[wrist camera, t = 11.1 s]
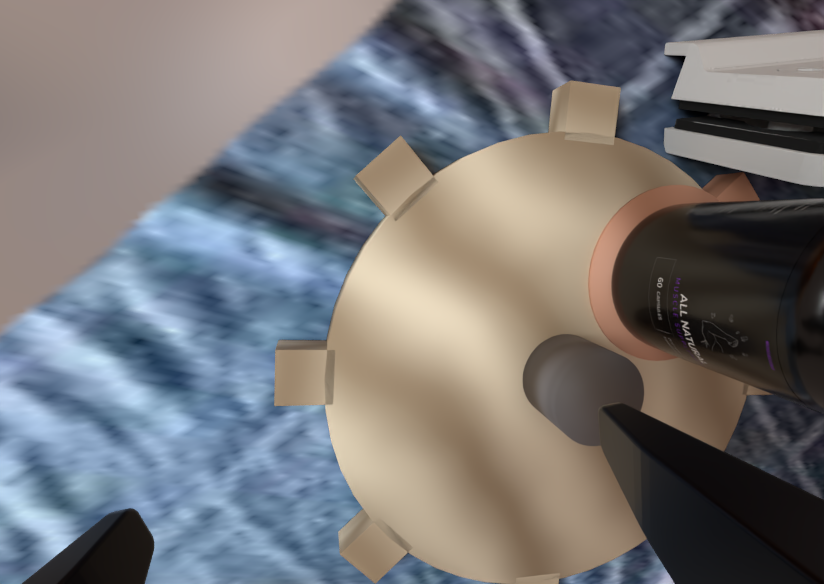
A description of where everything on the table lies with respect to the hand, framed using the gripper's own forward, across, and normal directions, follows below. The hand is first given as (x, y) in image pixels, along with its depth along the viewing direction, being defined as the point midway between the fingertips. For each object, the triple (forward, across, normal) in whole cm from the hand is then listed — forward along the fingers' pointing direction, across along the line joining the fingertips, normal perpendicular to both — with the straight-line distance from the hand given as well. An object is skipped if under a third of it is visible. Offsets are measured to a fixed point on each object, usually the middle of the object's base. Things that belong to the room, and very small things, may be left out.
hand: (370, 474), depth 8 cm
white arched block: (+17, -23, -2) cm, 29 cm away
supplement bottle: (+12, -13, +4) cm, 19 cm away
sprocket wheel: (+12, -7, +7) cm, 16 cm away
